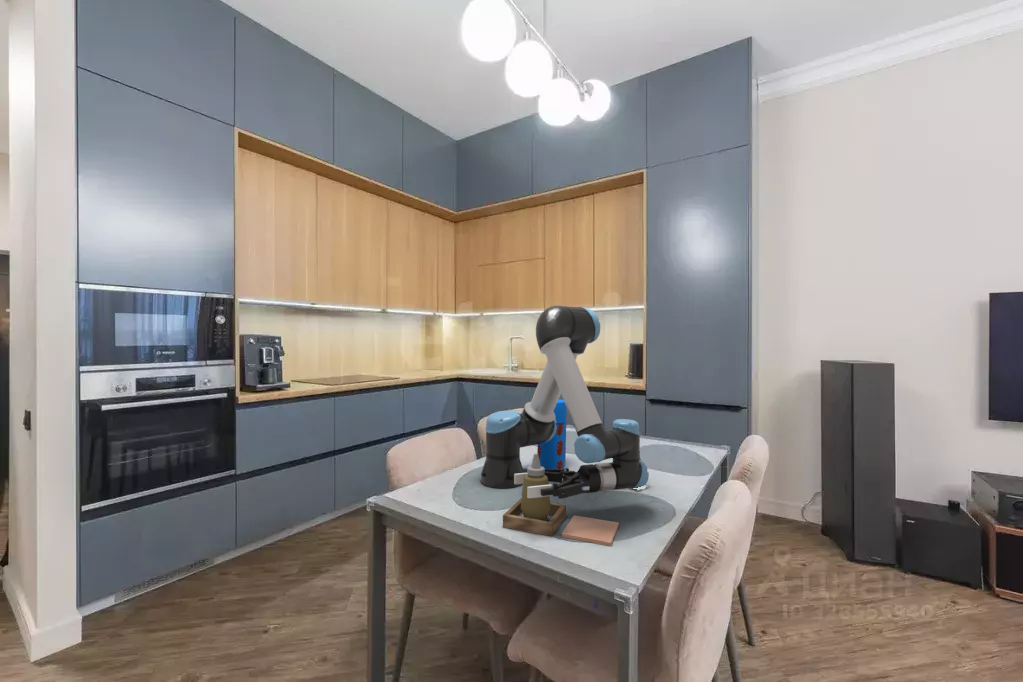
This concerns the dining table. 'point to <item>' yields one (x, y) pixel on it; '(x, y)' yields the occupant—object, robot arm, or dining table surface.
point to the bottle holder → (534, 520)
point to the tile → (591, 530)
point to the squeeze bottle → (539, 505)
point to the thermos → (555, 442)
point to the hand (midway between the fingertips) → (520, 485)
